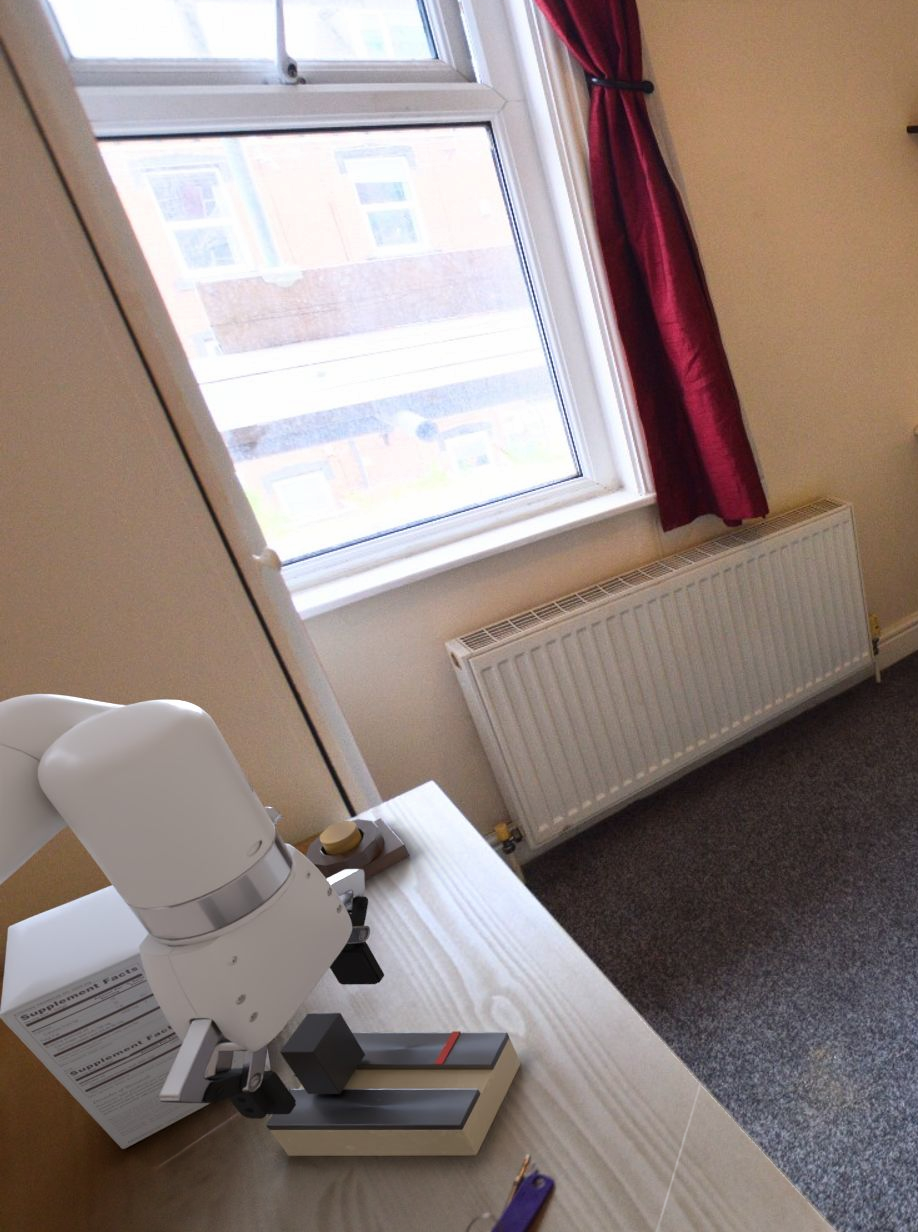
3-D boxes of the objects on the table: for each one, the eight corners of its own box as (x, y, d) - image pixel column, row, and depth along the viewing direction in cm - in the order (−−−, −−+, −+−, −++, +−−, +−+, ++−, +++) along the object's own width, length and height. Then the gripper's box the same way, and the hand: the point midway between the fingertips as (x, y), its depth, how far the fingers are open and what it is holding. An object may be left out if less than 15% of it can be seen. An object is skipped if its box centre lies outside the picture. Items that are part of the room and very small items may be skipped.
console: (288, 1156, 64) (264, 1124, 62) (349, 1063, 70) (329, 1031, 68) (476, 1156, 64) (459, 1124, 62) (521, 1063, 70) (507, 1031, 68)
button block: (320, 906, 83) (306, 881, 82) (298, 876, 87) (284, 851, 85) (410, 856, 89) (398, 831, 87) (386, 828, 92) (374, 804, 90)
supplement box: (118, 1060, 70) (3, 923, 62) (259, 991, 76) (171, 856, 67) (120, 1155, 64) (-8, 1016, 56) (273, 1072, 69) (178, 935, 61)
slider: (311, 1100, 64) (278, 1052, 61) (338, 1060, 67) (308, 1012, 64) (344, 1100, 64) (312, 1052, 61) (369, 1060, 67) (340, 1012, 64)
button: (332, 860, 84) (326, 848, 84) (321, 846, 86) (314, 833, 85) (366, 842, 86) (360, 829, 86) (355, 828, 88) (348, 816, 87)
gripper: (257, 783, 62) (346, 938, 70) (21, 1007, 47) (170, 1171, 55) (361, 782, 62) (438, 938, 70) (159, 1006, 47) (287, 1170, 55)
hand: (320, 1040), depth 63 cm, fingers open, 9 cm apart
